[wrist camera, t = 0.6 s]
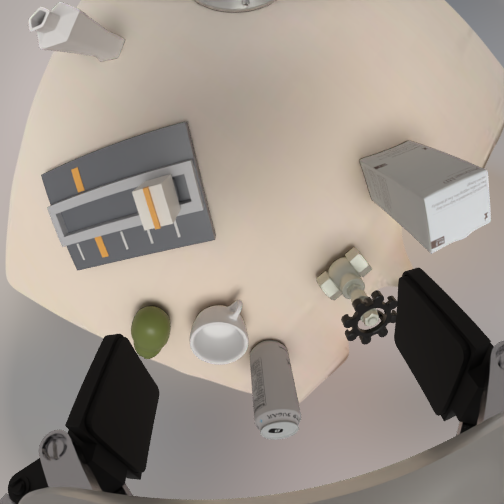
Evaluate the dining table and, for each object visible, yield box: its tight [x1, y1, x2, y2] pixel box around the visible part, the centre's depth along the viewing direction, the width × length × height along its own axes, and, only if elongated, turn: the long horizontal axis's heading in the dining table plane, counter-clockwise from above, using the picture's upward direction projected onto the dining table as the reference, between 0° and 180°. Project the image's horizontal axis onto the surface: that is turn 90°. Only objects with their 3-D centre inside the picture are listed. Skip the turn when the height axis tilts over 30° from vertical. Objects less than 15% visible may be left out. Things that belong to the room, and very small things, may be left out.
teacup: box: [190, 300, 248, 364], centre depth 39 cm, size 10×8×5 cm
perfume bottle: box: [28, 2, 125, 61], centre depth 18 cm, size 5×4×15 cm
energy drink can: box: [250, 340, 301, 440], centre depth 38 cm, size 6×6×15 cm
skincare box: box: [360, 141, 491, 254], centre depth 27 cm, size 8×6×15 cm
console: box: [41, 122, 216, 271], centre depth 32 cm, size 14×20×3 cm
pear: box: [131, 306, 170, 359], centre depth 40 cm, size 6×5×10 cm
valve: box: [317, 247, 397, 344], centre depth 34 cm, size 7×7×12 cm
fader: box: [132, 174, 181, 231], centre depth 29 cm, size 4×3×6 cm
